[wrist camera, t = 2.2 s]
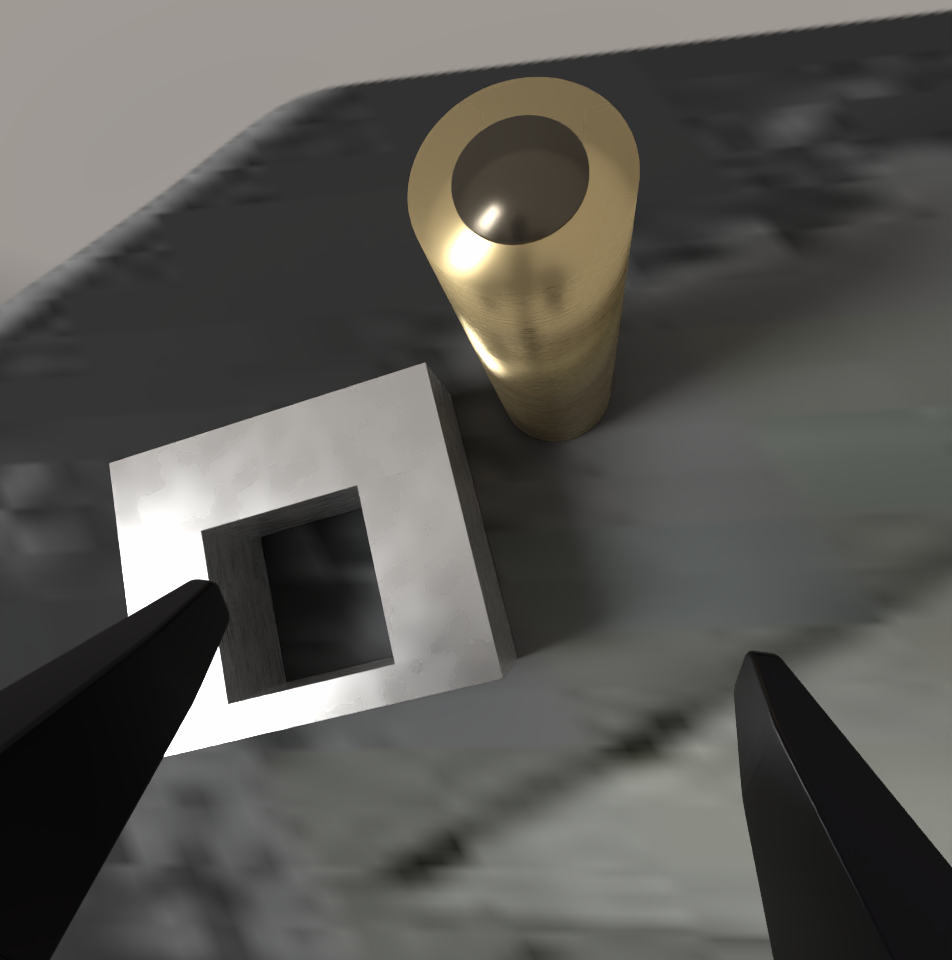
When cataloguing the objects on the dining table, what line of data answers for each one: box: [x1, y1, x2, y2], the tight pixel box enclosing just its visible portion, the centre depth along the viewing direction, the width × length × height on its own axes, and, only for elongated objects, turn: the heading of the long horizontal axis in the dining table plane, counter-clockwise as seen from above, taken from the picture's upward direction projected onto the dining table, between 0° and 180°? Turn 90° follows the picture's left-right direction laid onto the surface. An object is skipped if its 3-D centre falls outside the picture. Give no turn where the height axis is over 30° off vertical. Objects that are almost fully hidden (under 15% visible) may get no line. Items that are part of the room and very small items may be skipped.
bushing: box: [408, 77, 640, 442], centre depth 17 cm, size 4×4×13 cm
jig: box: [109, 363, 518, 757], centre depth 22 cm, size 11×13×4 cm
